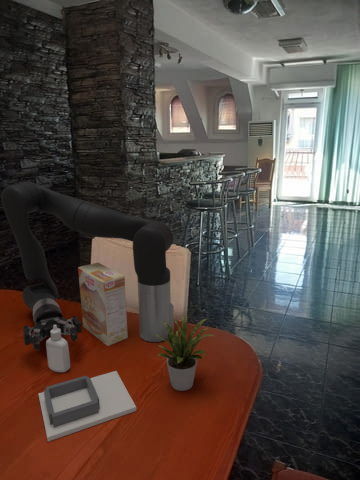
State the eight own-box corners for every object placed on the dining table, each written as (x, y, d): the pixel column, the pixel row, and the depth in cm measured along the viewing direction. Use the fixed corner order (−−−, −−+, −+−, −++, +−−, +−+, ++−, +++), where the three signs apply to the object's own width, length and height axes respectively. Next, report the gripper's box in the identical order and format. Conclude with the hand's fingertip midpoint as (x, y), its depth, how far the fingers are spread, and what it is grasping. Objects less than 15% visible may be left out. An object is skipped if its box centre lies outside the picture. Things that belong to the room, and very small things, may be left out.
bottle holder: (116, 374, 91) (115, 361, 90) (136, 410, 79) (135, 396, 78) (38, 397, 83) (37, 383, 82) (47, 441, 71) (45, 426, 70)
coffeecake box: (82, 326, 113) (76, 267, 108) (102, 319, 118) (98, 261, 112) (107, 347, 102) (102, 281, 97) (128, 338, 107) (125, 275, 101)
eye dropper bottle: (55, 377, 90) (49, 333, 86) (47, 366, 94) (42, 323, 91) (72, 370, 92) (68, 327, 89) (63, 359, 97) (59, 318, 93)
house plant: (223, 371, 91) (225, 312, 87) (209, 410, 79) (210, 342, 74) (169, 361, 96) (168, 303, 91) (148, 395, 83) (145, 330, 79)
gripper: (19, 308, 101) (23, 336, 87) (71, 298, 107) (84, 322, 93) (22, 333, 103) (27, 364, 89) (74, 321, 109) (86, 349, 95)
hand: (56, 342), depth 91 cm, fingers open, 8 cm apart
